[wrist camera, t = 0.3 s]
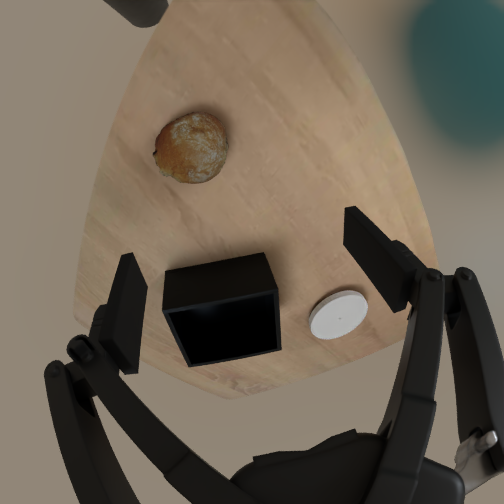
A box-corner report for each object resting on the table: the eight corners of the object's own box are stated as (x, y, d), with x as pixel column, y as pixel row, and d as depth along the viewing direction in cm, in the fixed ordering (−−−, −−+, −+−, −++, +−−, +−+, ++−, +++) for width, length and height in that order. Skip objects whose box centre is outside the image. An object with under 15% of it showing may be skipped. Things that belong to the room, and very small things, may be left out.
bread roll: (217, 166, 44) (246, 176, 39) (158, 189, 40) (178, 203, 34) (206, 106, 39) (235, 106, 33) (141, 125, 34) (159, 126, 29)
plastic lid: (300, 304, 60) (304, 312, 58) (360, 277, 59) (365, 284, 57) (313, 339, 68) (317, 347, 66) (365, 315, 67) (369, 323, 65)
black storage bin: (165, 271, 49) (161, 310, 41) (264, 252, 51) (278, 288, 43) (187, 329, 58) (188, 367, 50) (270, 313, 59) (281, 350, 51)
